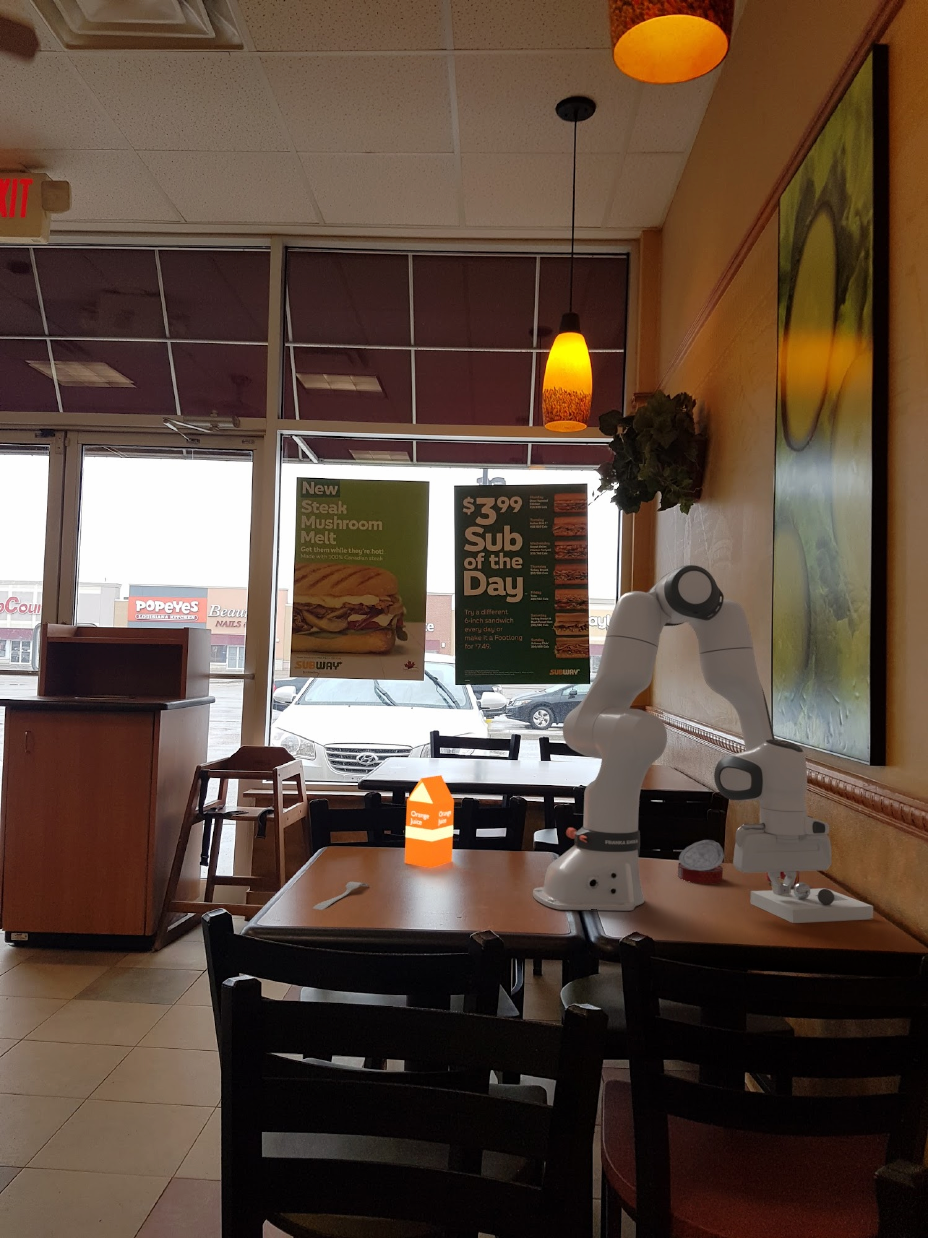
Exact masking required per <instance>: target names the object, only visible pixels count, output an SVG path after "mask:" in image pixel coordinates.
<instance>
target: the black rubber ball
mask: <svg viewBox="0 0 928 1238" xmlns="http://www.w3.org/2000/svg"><path fill="white" fill-rule="evenodd" d="M830 890H831V889H829V890H828V888H827V889H822V890H820V891H819V893H818V900H819V901H820V902H821V903H822V904H824V905H830V904H831V903H833V901H834V894H833V893H832V892H831V891H830Z"/></svg>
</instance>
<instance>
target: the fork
mask: <svg viewBox="0 0 928 1238" xmlns="http://www.w3.org/2000/svg"><path fill="white" fill-rule="evenodd" d="M360 886H361V887H368V888H371V886H370V885H368V884H367V883H363V882H357V881H349V882H347V884H346V885H345V888H346V891H345V892H343V893H342V894H340V895H338V896H335V897H333V898H330V899H327V900H324V901H322V902H319V903H317V904H315V905H314V906H313V907H312V909H313V910H319V911H320V910H321V911H323V910H326V909H327V908H329V907H330V906H331V905H332V904H335V902H336V901H338V900H340V899H342V898H344V897H346V896H347V895H348V894H349V893H350V892H351V891H353V890H356V889H357V888H358V887H360Z"/></svg>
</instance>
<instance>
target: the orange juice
mask: <svg viewBox="0 0 928 1238" xmlns="http://www.w3.org/2000/svg"><path fill="white" fill-rule="evenodd" d="M442 776H443V775H441V774H440V775H434V776H427V777H421V778H420V780H419V781H418V783H417V784H416V786H415V787H414V789H413V790H412V792H411V793H410V795H409V796H408V798H407V800H406V815H405V816H406V817H405V818H406V819H405V847H404V864H409V865H413V866H414V865H415V866H420V867H426V868H430V869H431V868H435V867H439V866H441V865H445V864H448V863H451V862H453V843H454V842H453V839H454V838H453V836H454V813H455V812H454V811H455V810H454V806H455V799H454V798H453V796H452V794H451V792H450V790H449V788H448V786H447V784H446V782H445V780H444V778H443V777H442Z"/></svg>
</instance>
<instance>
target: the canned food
mask: <svg viewBox="0 0 928 1238" xmlns="http://www.w3.org/2000/svg"><path fill="white" fill-rule="evenodd" d="M724 857H725V855H724V848H723V847H722V846H721V844H720V843H719V842H716V841H715V840H713V839H703V840H700V841H696V842H693V843H692V844H691V845H688V846H686V847H685V848H684V849H683V850H682V851H681V852H680V854H679V856H678V860H679V862H678V864H677V865H678V866H677V877H679V878H680V879H679V878H678V879H679V880H681V879H683V880H682V881H684V880H685V882H688V881H690V882H689V883H693V882H694V883H693V884H702V885H703V884H704V885H706V884H707V885H713V884H714V885H715V884H720V883H722V882H723V871H724V869H723V868H724V867H723V866H721V864H722V863H723V860H724Z"/></svg>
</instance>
